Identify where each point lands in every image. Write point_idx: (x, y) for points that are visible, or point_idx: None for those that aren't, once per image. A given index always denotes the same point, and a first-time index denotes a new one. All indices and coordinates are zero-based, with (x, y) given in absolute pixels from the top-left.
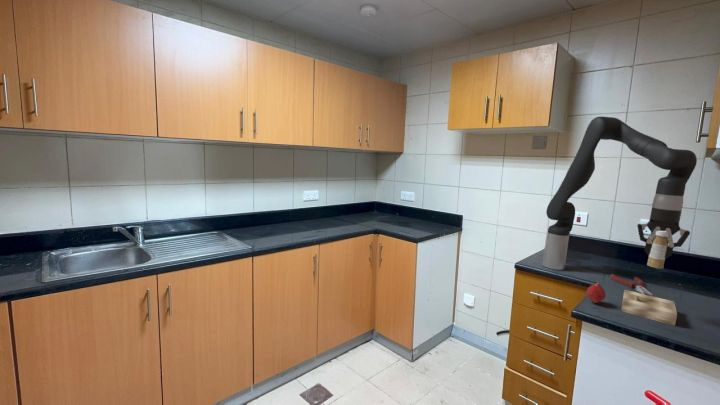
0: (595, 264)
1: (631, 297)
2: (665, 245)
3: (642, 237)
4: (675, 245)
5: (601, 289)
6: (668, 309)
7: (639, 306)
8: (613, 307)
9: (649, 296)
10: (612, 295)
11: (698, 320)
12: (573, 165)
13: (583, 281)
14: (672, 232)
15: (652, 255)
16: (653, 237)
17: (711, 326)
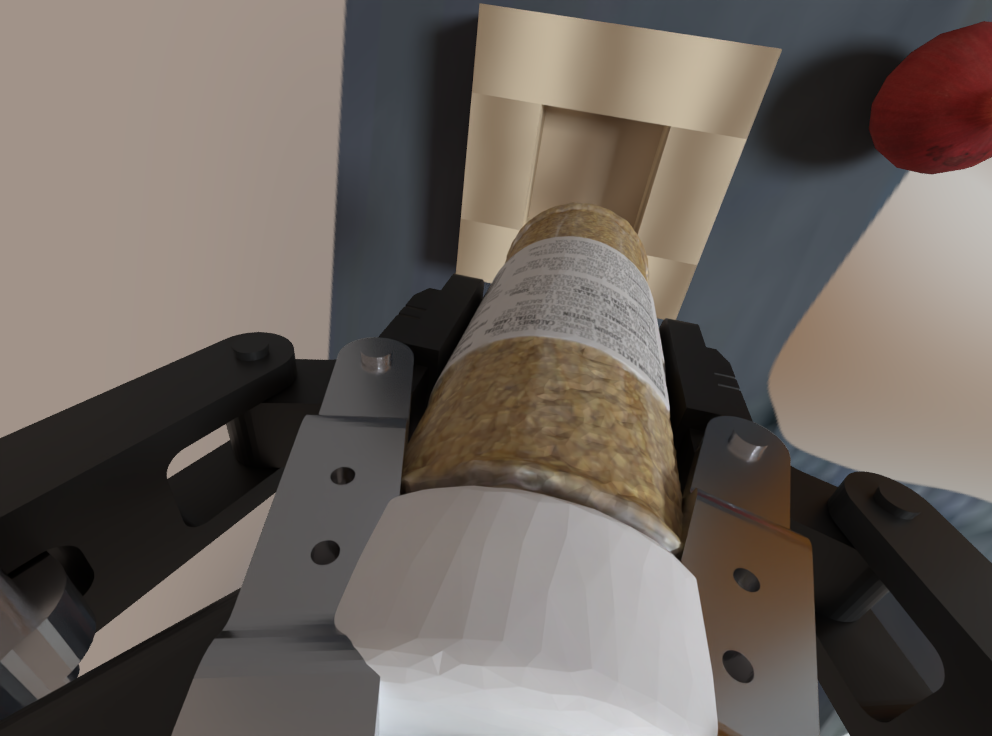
0: None
1: (683, 182)
2: (471, 354)
3: (925, 544)
4: (316, 378)
5: (969, 69)
6: (510, 85)
7: (677, 35)
8: (787, 96)
9: None
10: (708, 324)
11: (383, 211)
12: None
13: (801, 457)
14: (196, 661)
15: (636, 279)
16: (719, 503)
17: (344, 163)
